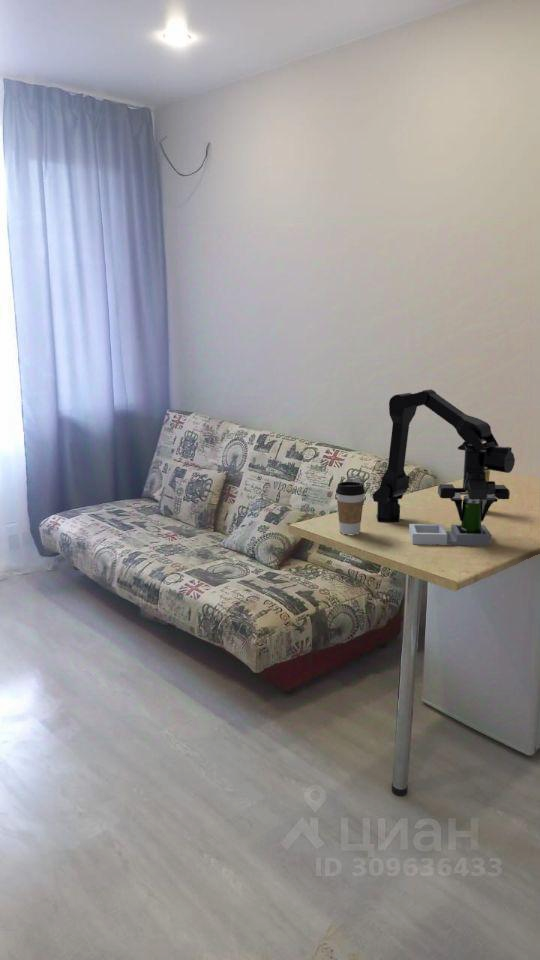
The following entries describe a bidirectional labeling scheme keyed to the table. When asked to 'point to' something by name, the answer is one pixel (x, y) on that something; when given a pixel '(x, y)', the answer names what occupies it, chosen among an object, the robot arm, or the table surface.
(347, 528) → the coffee cup
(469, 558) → the table surface
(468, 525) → the beer can
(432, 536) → the grey double square frame
